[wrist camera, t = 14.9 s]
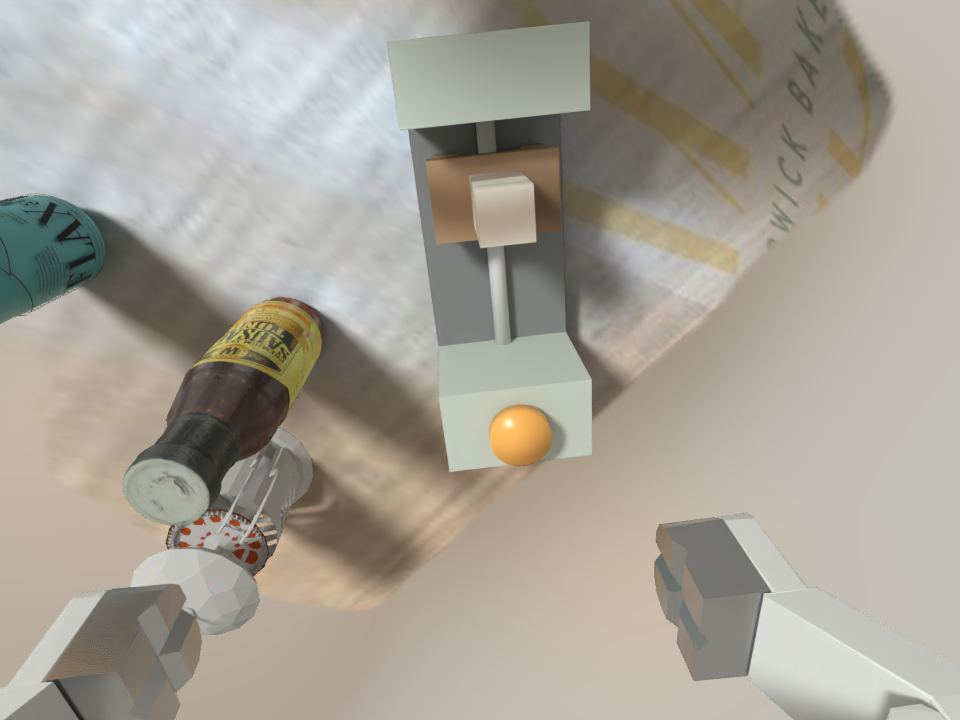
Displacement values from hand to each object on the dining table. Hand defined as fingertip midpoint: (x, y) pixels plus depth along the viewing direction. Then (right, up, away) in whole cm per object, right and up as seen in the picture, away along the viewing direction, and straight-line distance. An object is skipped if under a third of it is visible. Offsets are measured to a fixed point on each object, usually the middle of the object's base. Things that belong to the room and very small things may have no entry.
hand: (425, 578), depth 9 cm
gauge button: (+3, +1, +32) cm, 32 cm away
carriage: (+2, +16, +28) cm, 32 cm away
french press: (-18, -5, +39) cm, 44 cm away
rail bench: (+2, +13, +32) cm, 34 cm away
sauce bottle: (-15, +6, +34) cm, 38 cm away
